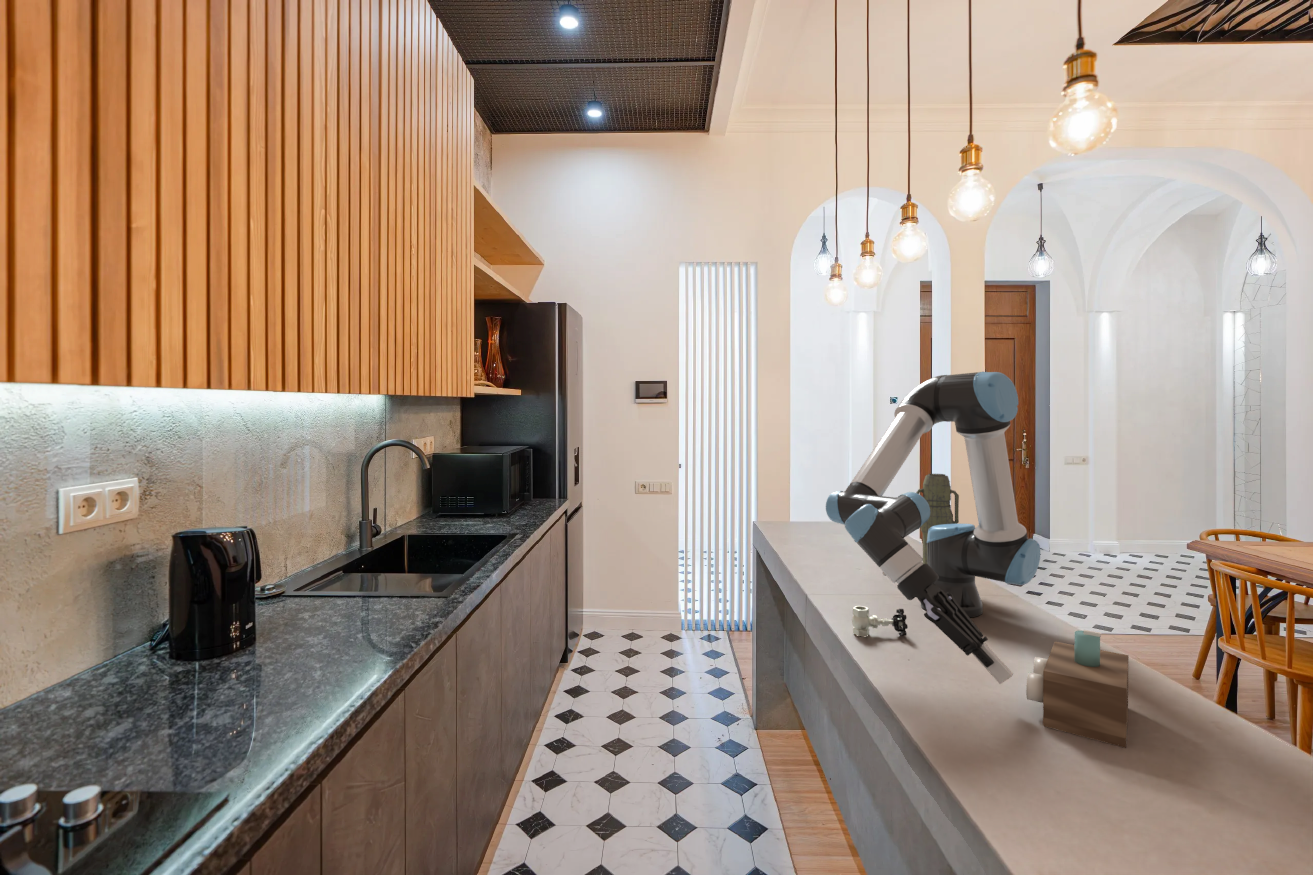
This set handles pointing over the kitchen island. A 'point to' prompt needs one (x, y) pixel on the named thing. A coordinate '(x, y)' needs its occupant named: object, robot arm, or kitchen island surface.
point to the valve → (876, 621)
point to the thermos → (937, 504)
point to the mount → (1086, 695)
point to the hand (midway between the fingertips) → (1006, 678)
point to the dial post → (1087, 648)
